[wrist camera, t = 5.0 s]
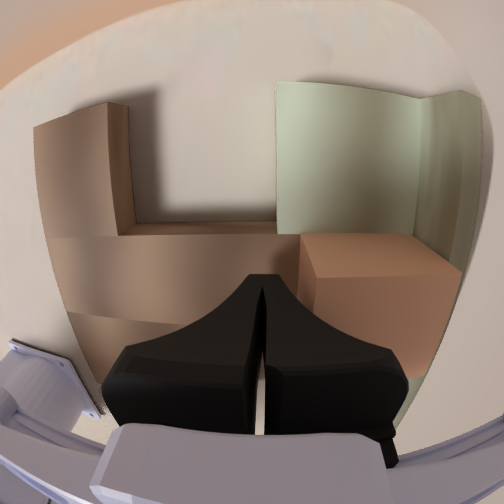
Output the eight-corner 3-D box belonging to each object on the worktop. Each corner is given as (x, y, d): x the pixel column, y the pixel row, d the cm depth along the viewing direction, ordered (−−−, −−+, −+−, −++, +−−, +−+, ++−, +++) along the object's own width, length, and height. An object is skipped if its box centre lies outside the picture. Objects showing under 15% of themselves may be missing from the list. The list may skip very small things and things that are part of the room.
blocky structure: (108, 364, 17) (79, 412, 13) (56, 126, 11) (-8, 130, 7) (373, 375, 16) (393, 431, 12) (416, 107, 10) (480, 97, 6)
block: (295, 326, 12) (302, 390, 9) (300, 232, 11) (316, 277, 7) (392, 321, 12) (424, 375, 8) (411, 234, 11) (462, 273, 7)
